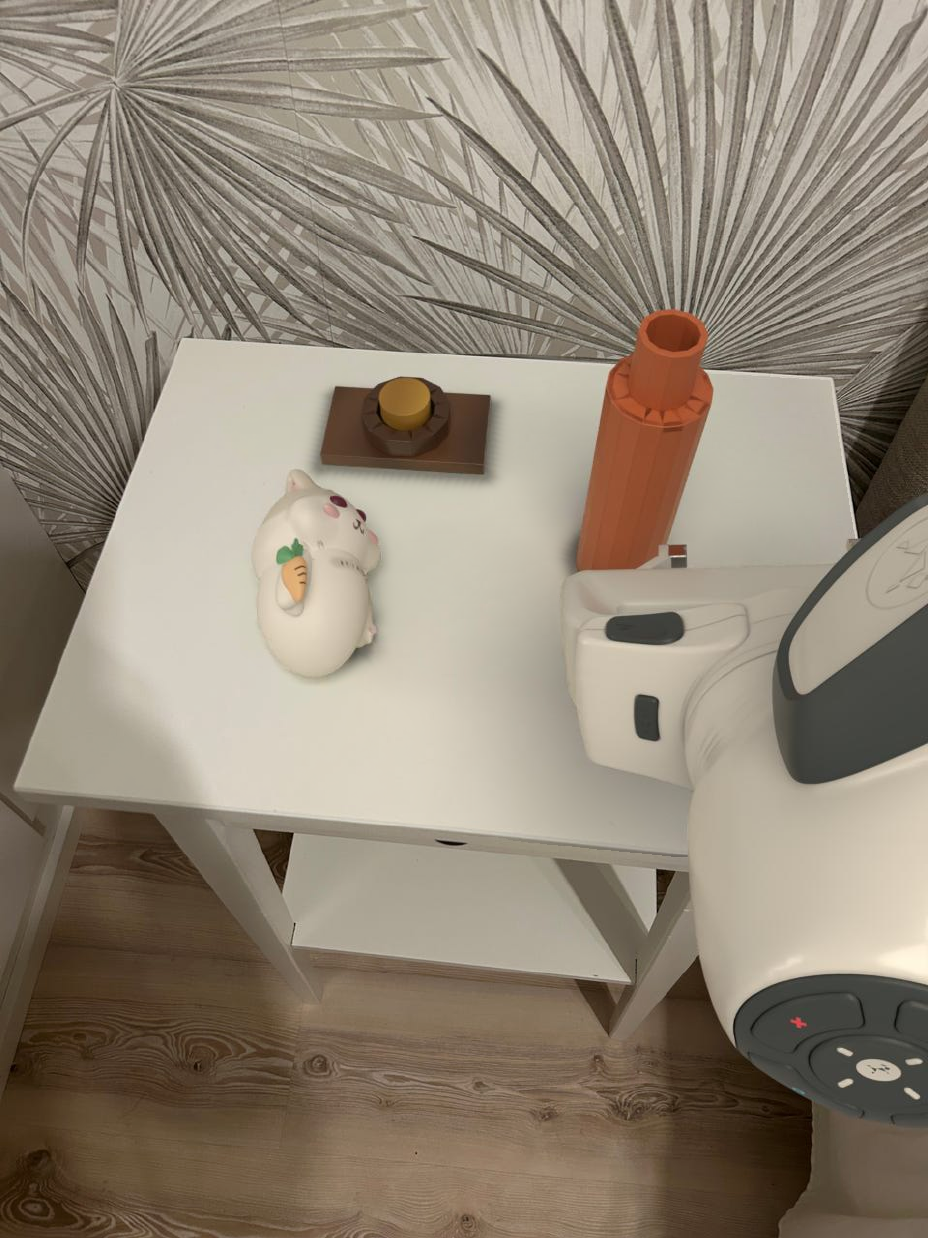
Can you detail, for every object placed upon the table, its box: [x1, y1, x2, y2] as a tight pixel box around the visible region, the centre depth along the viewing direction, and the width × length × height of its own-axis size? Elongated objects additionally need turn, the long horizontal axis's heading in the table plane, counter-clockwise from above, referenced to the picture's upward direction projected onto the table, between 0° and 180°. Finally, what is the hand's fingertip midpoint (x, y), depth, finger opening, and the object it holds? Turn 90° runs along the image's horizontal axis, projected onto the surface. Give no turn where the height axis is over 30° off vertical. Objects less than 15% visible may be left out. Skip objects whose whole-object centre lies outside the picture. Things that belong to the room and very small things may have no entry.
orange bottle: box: [575, 308, 715, 572], centre depth 57 cm, size 6×6×22 cm
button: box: [379, 378, 431, 431], centre depth 70 cm, size 4×4×2 cm
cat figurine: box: [251, 468, 382, 678], centre depth 61 cm, size 10×8×15 cm
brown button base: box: [319, 376, 492, 475], centre depth 72 cm, size 13×8×3 cm, turn 85°
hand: (764, 553), depth 47 cm, fingers open, 8 cm apart
